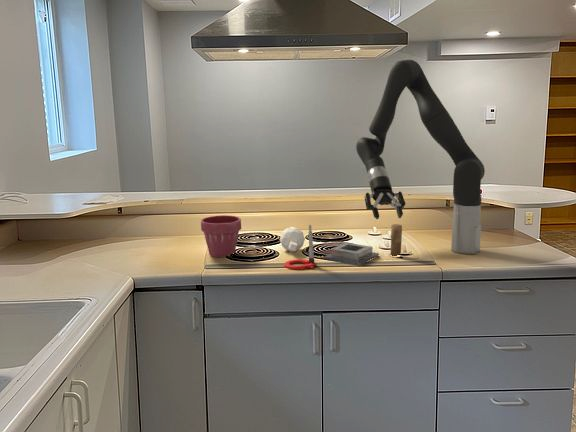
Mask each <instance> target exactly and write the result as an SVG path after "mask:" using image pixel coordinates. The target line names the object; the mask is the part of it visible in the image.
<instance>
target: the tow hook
mask: <svg viewBox="0 0 576 432" xmlns="http://www.w3.org/2000/svg"><path fill="white" fill-rule="evenodd" d="M307 234H308V259H290V260H287V261H285V263H283V264H284V265H283V266H284V268H285V269H290V270H304V269H310V270H313V269H314V268H315V253H314V241H313V239H314V238H313V230H312V225H311V224H309V225H308V233H307ZM293 264H300V265H293ZM301 264H302V265H301Z"/></svg>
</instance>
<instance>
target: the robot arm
mask: <svg viewBox="0 0 576 432" xmlns="http://www.w3.org/2000/svg"><path fill="white" fill-rule="evenodd" d="M422 68H423V67H421V65H420V64H419V63H418V61H415V60H413V59H404V60H398V61H396V62H395V63H393V65H392V66H391V68H390V71H389V73H388V75H387V77H388V78H387V81H386V84H385V88H384V90H383V93H382V97H381V100H380V102H379V105H378V108H377V110H376V112H375V115H374V116H373V119H372V120H371V123H370V125H369V127H368V130H369V132H370V134H371V135H373V136H375V138H371V137H365V136H363V137H360V138H359V139H358V140H357V142H356V147H355V149H356V153H357V155H358V157H359V158H360V160H361V162H362V164H364V166H365V170H366V174H367V179H368V183H369V188H370V191H371V193H370V192H366V193H365V196H364V197H363V199H364V202H365V207H366V210H367V211H368V210H371V211H372V215H373V217H374V218H375V220H378V219H379V218H380V212H379V210H378V206H379V205H380V206H384V205H385V206H389V205H390V207H392V208H394V209H395V210H396V215H397V218H398V219H401V218H402V217H403V216H404V211H403V209H404V208H405V205H407V204H406V201H405V199H404V195H403V193H402V191H398V192H395V193H394V191H393V187H392V184H391V180H390V178H389V173H388V172H387V170H386V166H385V162H384V159H383V157H381V155H382V154H383V153H384V148H385V145H386V138H387V134H388V132H389V131H390V130H389V129H390V128H391V125H392V123H393V121H394V119H395V115H396V109H397V104H398V101H399V99H400V97H401V95H402V93H403V91H404V90H405V89H406V88H407V89H408V91H410V93H411V94H412V96H413V98H414V99H415V101H416V105H417V108H418V113H419V116H420V120H421V122H422V124H423V125H424V127H425V128H426V130H427V131H428V133H429V135H430V136H431V138H432V139H433V140H434V141H435V142H436V143H437V144H438V145H439V146H440V147H441V148H442V149H443V150H444V151H445V152H446V153H447V154H448V155H449V157H450V158H451V160H452V162H453V163H454V166H455V167H454V170H453V182H452V183H453V185H452V186H453V187H452V189H453V190H452V196H453V215H452V231H451V232H452V233H451V249H450V250H451V251H452V252H454V253H457V254H467V255H469V254H471V255H476V254H478V253H479V252H480V251H481V238H482V237H481V236H482V224H481V214H482V213H481V209H482V196H481V185H482V184H481V183H482V179H483V178H484V176H485V172H486V171H485V166H484V163H483V161H481V160H480V159H479V157H478V156H477V155H476V154H475V152H474V151H473V150H472V149H471V148H470V146H469V145H468V143H467V141H466V140H465V138H464V137H463V135H462V133H461V131H460V129H459V128H458V126H457V124H456V123H455V121H454V119H453V118H452V116H451V115H450V113H449V111H448V110H447V109H446V107H445V106H444V104H443V102H441V100H440V98H439V96H437V93H436V92H435V90H434V89H433V88H432V86H431V84H430V83H429V80H428V78H427V77H426V75H425V73H424V71H423V69H422ZM371 199H373V200H374V201H375V202H374V204H372V202H371Z"/></svg>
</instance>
